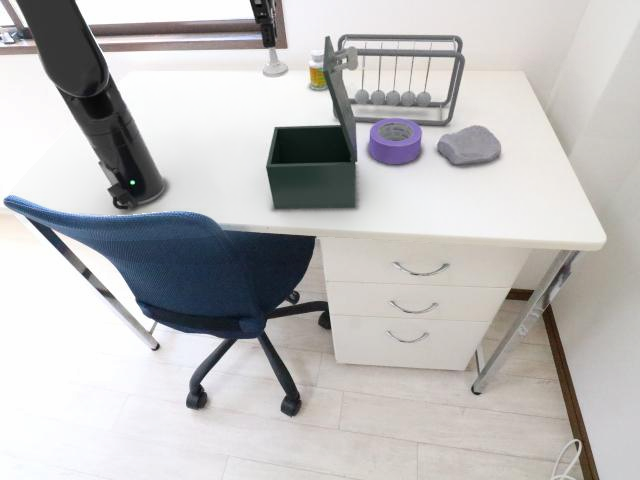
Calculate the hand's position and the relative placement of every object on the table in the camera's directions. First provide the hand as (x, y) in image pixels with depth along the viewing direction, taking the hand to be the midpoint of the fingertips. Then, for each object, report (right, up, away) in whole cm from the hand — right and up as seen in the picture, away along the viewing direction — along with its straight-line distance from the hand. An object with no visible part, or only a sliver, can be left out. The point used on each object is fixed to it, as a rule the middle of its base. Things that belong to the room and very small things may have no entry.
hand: (270, 43), depth 66 cm
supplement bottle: (+9, +11, +46) cm, 48 cm away
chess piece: (0, -3, +4) cm, 5 cm away
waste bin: (+8, -23, +15) cm, 29 cm away
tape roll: (+26, -14, +22) cm, 37 cm away
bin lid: (+12, -10, 0) cm, 16 cm away
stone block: (+43, -15, +20) cm, 50 cm away
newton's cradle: (+28, -1, +33) cm, 43 cm away
